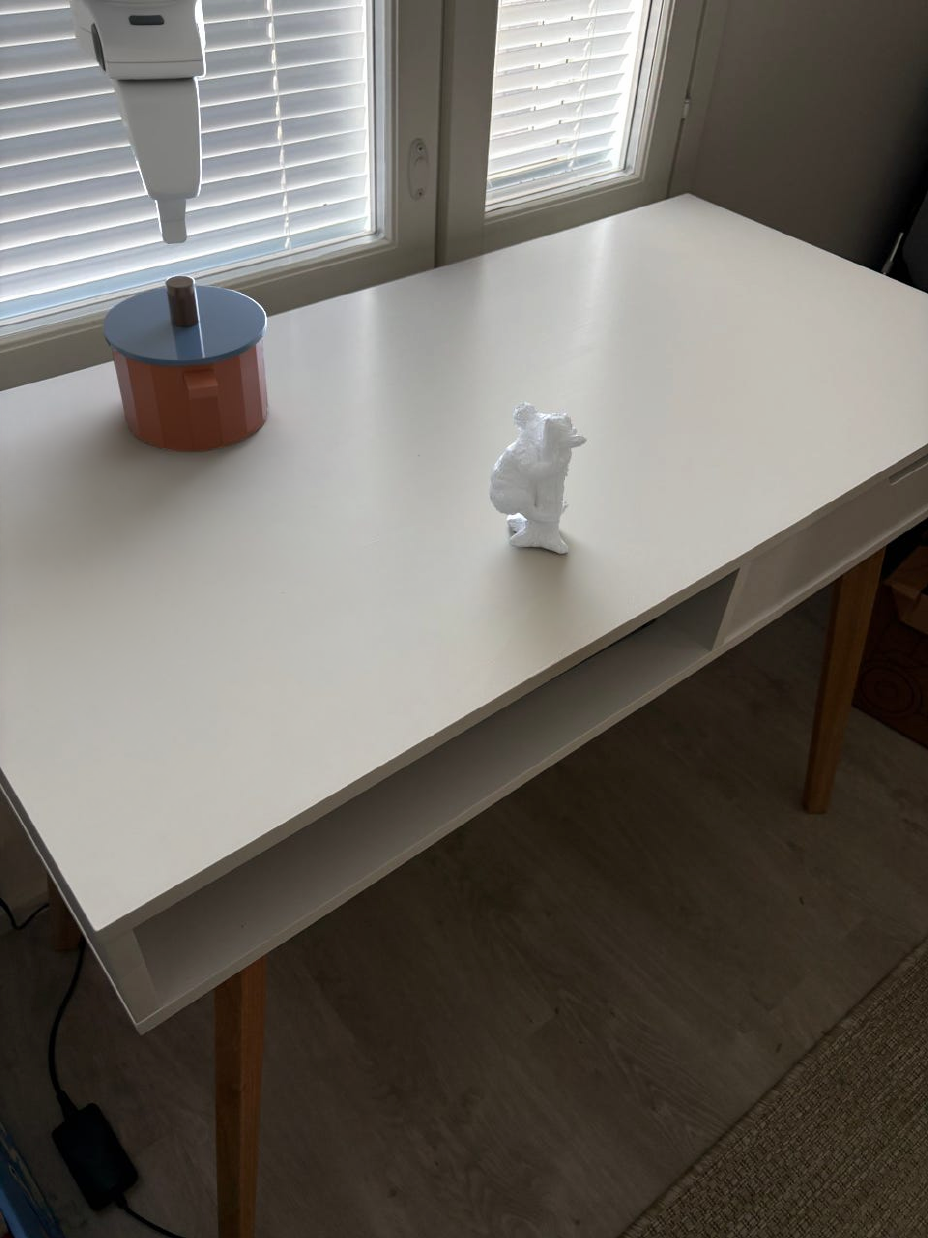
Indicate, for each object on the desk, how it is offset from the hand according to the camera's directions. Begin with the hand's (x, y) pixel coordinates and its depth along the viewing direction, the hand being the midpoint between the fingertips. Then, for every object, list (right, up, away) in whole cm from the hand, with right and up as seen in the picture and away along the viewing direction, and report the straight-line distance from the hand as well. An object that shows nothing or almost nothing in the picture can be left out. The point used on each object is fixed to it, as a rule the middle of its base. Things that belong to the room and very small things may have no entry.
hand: (165, 215), depth 80 cm
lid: (0, -7, +7) cm, 10 cm away
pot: (-1, -13, +12) cm, 18 cm away
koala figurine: (+29, -25, +2) cm, 39 cm away
